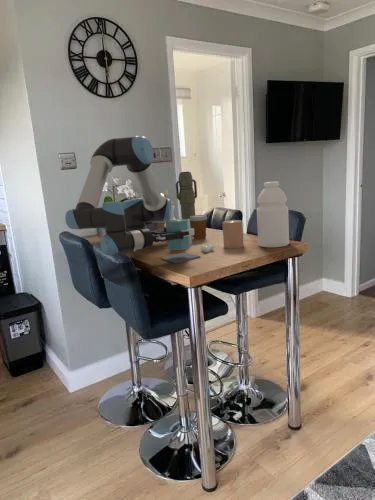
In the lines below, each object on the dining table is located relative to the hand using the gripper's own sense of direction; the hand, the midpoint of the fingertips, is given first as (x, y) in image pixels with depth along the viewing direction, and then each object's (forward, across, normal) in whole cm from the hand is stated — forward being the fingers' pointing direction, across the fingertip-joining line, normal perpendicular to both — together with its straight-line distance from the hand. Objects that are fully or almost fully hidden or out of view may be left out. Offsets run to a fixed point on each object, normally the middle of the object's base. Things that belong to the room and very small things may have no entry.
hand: (186, 230), depth 164 cm
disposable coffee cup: (+29, -30, -11) cm, 43 cm away
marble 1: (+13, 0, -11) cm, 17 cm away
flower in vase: (+43, -78, -11) cm, 89 cm away
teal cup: (-5, 0, -6) cm, 8 cm away
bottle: (+37, +14, -11) cm, 41 cm away
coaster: (-4, 0, -11) cm, 12 cm away
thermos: (+35, -48, -11) cm, 60 cm away
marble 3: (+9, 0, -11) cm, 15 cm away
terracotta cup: (+25, +1, -11) cm, 27 cm away
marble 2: (+11, -3, -11) cm, 16 cm away
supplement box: (+12, -21, -11) cm, 27 cm away
